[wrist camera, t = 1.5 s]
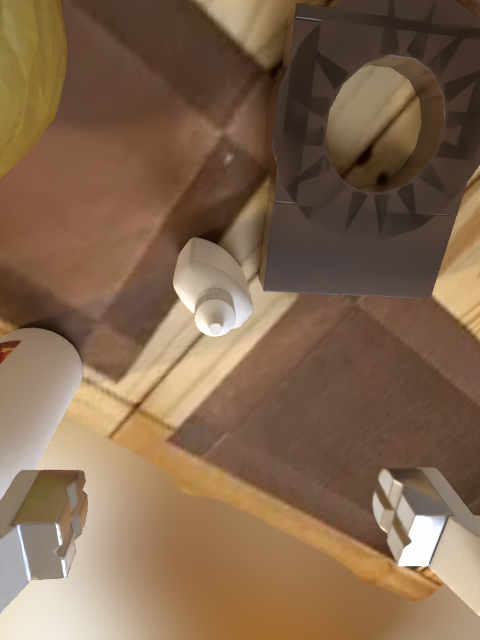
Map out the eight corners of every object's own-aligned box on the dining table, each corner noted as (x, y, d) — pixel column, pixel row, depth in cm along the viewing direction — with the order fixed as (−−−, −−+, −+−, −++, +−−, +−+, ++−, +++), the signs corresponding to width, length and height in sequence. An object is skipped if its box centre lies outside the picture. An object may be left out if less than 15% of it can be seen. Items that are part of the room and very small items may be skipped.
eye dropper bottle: (223, 223, 30) (233, 268, 19) (248, 284, 32) (270, 355, 21) (173, 244, 30) (155, 300, 19) (202, 303, 32) (200, 382, 22)
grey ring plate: (280, -15, 24) (290, -35, 21) (499, 16, 25) (534, 0, 23) (251, 278, 32) (255, 290, 29) (418, 287, 34) (437, 299, 31)
